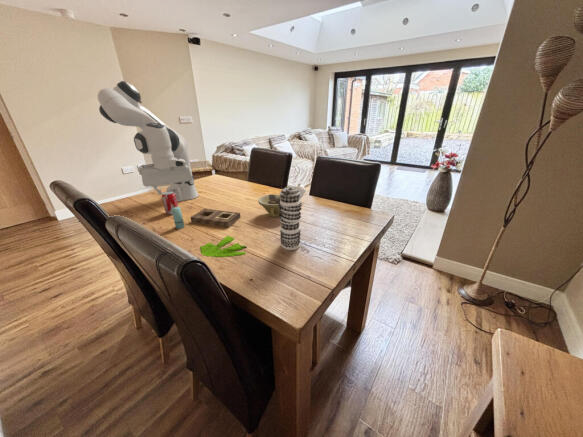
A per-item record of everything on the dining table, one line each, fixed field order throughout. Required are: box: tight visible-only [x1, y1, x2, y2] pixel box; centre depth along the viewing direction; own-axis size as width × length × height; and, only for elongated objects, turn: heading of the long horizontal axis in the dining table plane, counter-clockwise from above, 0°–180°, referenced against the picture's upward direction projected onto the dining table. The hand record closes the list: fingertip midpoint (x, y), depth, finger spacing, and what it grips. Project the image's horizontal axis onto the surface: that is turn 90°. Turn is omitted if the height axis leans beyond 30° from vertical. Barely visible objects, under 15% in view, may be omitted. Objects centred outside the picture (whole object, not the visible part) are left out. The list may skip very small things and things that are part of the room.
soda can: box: [161, 190, 179, 215], centre depth 131 cm, size 7×7×12 cm
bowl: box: [257, 194, 281, 219], centre depth 127 cm, size 18×18×10 cm
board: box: [190, 208, 242, 228], centre depth 123 cm, size 22×12×3 cm, turn 73°
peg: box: [171, 206, 185, 230], centre depth 115 cm, size 4×4×10 cm
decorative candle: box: [278, 186, 302, 251], centre depth 95 cm, size 9×9×25 cm
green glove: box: [199, 235, 248, 258], centre depth 99 cm, size 20×22×2 cm
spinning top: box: [293, 182, 306, 200], centre depth 146 cm, size 8×8×12 cm
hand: (171, 192), depth 109 cm, fingers open, 8 cm apart
